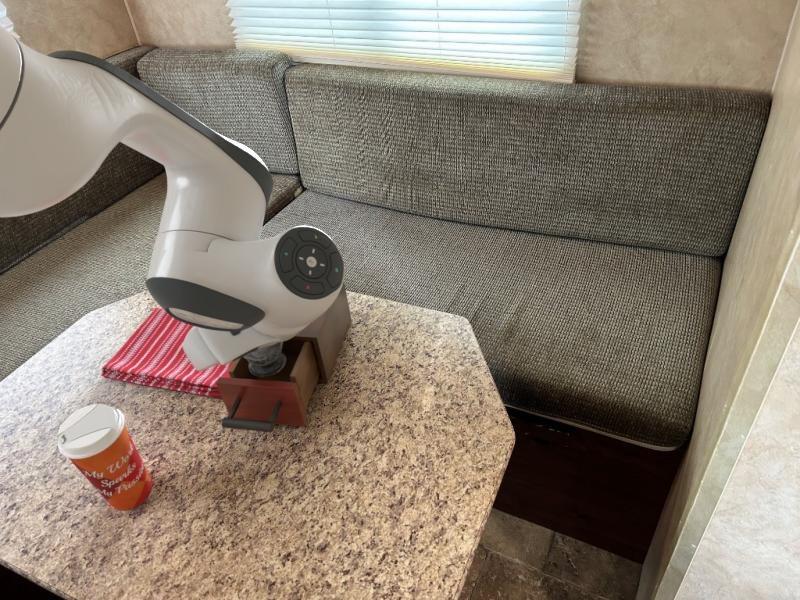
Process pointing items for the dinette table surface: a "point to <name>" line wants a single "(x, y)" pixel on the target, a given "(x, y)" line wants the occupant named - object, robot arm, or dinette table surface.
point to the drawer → (271, 391)
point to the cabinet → (328, 334)
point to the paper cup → (105, 455)
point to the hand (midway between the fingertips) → (253, 327)
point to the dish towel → (163, 359)
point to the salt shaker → (266, 360)
